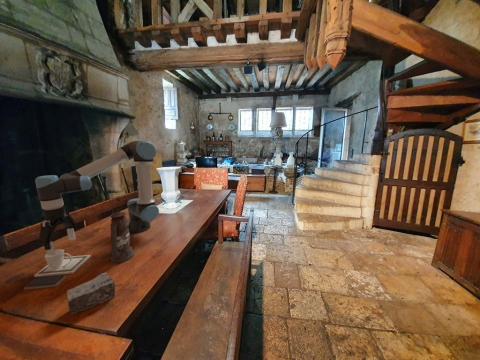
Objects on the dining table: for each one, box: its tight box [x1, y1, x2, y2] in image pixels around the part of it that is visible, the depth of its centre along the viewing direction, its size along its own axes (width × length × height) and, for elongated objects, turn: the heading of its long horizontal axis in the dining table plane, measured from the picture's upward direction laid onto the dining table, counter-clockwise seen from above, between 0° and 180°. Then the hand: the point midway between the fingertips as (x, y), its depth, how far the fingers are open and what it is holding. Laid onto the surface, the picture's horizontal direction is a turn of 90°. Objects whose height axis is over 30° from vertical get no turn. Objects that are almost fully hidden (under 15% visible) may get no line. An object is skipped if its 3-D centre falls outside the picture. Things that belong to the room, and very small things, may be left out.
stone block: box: [66, 272, 116, 316], centre depth 72 cm, size 14×9×8 cm, turn 137°
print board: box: [33, 254, 92, 278], centre depth 93 cm, size 16×14×1 cm
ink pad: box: [23, 274, 67, 291], centre depth 81 cm, size 12×6×2 cm, turn 100°
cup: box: [44, 248, 72, 270], centre depth 90 cm, size 7×10×8 cm
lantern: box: [109, 195, 135, 263], centre depth 98 cm, size 11×16×35 cm
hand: (62, 246), depth 91 cm, fingers open, 13 cm apart
